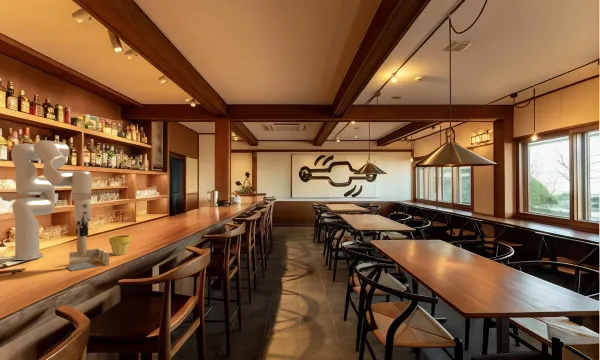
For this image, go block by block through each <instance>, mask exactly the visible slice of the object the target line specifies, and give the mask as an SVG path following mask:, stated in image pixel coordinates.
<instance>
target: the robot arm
mask: <svg viewBox="0 0 600 360" xmlns="http://www.w3.org/2000/svg"><path fill="white" fill-rule="evenodd" d="M69 155H70V147H69V146H68V144H66V143H64V142H63V141H62V142H61V141H55V140H46V139H45V140H43V139H41V140H39V141H37V142H35V143H18V144H16V145H14V146H13V147H12V149H11V153H10V156H11V160H12V163H13V166H14V169H15V190H16V193H17V194H18V195H20V196H40V197H24V198H23V197H22V198H18V199H16V200H15V201H13V203H12V212H13V216H14V217H13V218H14V233H15V235H14V236H15V237H14V243H15V244H14V247H15V248H14V251H15V252H14V253H15V254H14V256H12V257H10V261H12V260H24V261H30V260H36V259H40V258H42V257H43V256H44V254H43V253H40V223H39V221H38V220H37V218H36V217H35V216H42V215H43V216H44V215H50V214H53V212H54V211H55V208H56V192H55V187H57V188H58V187H71V201H73V202H74V210H73V211H74V214H73V215H74V216H73V217H74V220H75V221H76V222H75V225H77V224H80V227H81V228H80V237H82V236H86V237H88V236H89V227H88V224H89V222H91V221H92V207H91V206H92V205H91V201H92V198H93V197H92V194H93V193H92V173H91V172H90V171H88V170H59V169H61V168H62V167H64V166H65V164H66V163H67V157H68V156H69ZM32 161H38V162H40V161H41V162H43V163H44V164H43V166H42V174H43V177H38V169H37V166H35V164H34V163H33V162H32ZM77 234H78V230H77V229H75V235H76V236H77Z"/></svg>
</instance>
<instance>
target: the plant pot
mask: <svg viewBox="0 0 600 360" xmlns="http://www.w3.org/2000/svg"><path fill="white" fill-rule="evenodd" d="M108 239H109V240H108V242H109V244H110V247H111V251H112V255H113V256H124V255H126V254H128V251H129V247H130V246H129V245H130V243H131V241H132V235H131V234H118V235H112V236H109V237H108Z"/></svg>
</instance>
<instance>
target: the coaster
mask: <svg viewBox="0 0 600 360" xmlns="http://www.w3.org/2000/svg"><path fill="white" fill-rule="evenodd" d="M96 267H98V264H95V262H94V261H93V262H87V263H81V264H75V265H66V268H67V269H68V270H69V271H71V272H76V271H81V270H86V269H92V268H96Z"/></svg>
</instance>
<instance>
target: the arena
mask: <svg viewBox="0 0 600 360" xmlns="http://www.w3.org/2000/svg"><path fill="white" fill-rule="evenodd" d="M68 255H69V259H68V260H69V261H68V262H69V265H75V264H81V263H87V262H93V263H94V262H100V263H101V264H103V265H105V266H106V267H107V266H110V252H109V251H107V250H105V249H102V248H100V247H99V248H92V249H87V251H86V256H84V257H78V253H77V251H71V252H69V254H68ZM69 265H68V266H69Z"/></svg>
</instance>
